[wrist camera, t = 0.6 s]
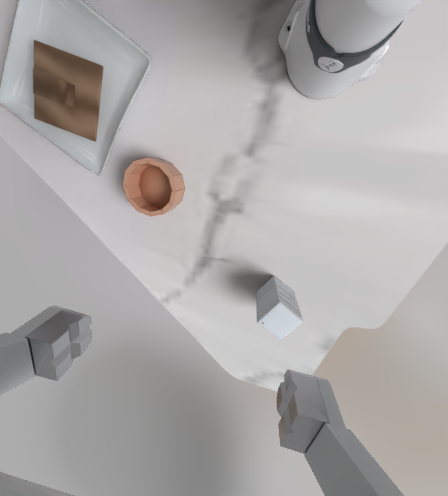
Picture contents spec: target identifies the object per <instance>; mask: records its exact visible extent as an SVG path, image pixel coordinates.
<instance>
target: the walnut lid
mask: <svg viewBox="0 0 448 496" xmlns="http://www.w3.org/2000/svg"><path fill="white" fill-rule="evenodd" d="M103 68H104V67H103V66H102V65H99V64H97V63H94V62H91V61H89V60H86V59H84V58H81V57H78V56H76V55H73V54H70V53H68V52H65V51H63V50H60V49H57V48H55V47H52V46H49V45H47V44H44V43H42V42H39V41H36V40H34V68H33V93H34V119H37V120H39V121H42V122H45V123H47V124H50V125H53V126H55V127H58V128H60V129H63V130H66V131H68V132H71V133H74V134H76V135H79V136H81V137H84V138H87V139H89V140H92V141H95V142H96V140H97V129H98V119H99V109H100V99H101V88H102V78H103Z"/></svg>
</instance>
